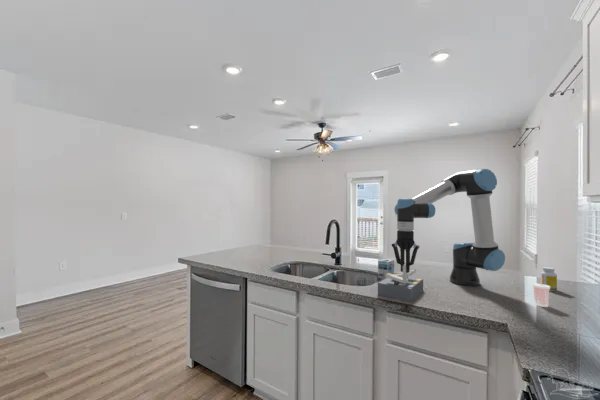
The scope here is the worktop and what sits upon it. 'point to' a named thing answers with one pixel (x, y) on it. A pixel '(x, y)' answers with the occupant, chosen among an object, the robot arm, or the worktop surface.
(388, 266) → the light bulb box
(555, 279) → the pill bottle
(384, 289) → the box
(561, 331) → the worktop surface
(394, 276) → the rocker
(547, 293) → the beverage cup
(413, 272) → the rocker
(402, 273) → the rocker
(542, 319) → the worktop surface
